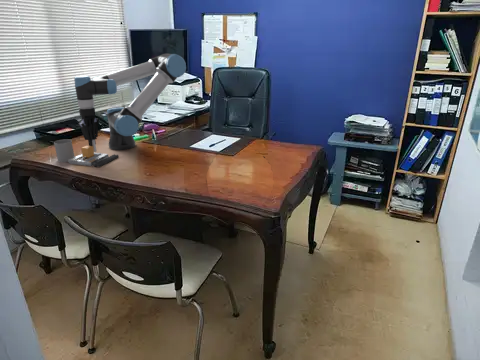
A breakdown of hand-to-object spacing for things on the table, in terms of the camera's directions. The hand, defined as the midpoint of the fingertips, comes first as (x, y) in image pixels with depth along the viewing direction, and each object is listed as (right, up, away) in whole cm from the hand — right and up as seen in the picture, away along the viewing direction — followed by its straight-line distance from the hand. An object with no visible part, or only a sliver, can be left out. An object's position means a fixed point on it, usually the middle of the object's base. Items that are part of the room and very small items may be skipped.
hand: (93, 151), depth 185 cm
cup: (-14, -5, -1) cm, 15 cm away
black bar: (+8, -6, -4) cm, 11 cm away
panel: (-1, -5, -3) cm, 6 cm away
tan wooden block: (-1, -3, -4) cm, 5 cm away
